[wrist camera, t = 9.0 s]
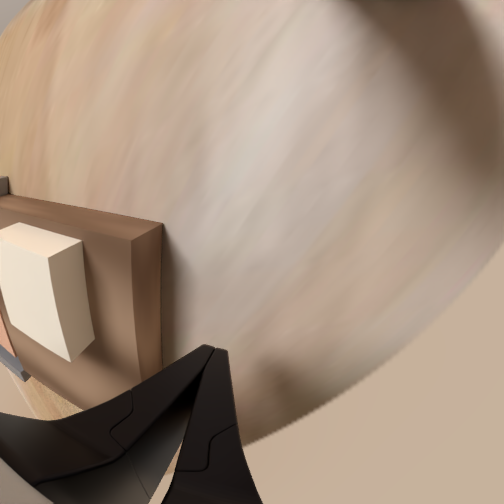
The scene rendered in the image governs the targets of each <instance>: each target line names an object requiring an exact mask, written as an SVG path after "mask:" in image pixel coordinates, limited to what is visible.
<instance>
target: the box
mask: <svg viewBox="0 0 504 504" xmlns="http://www.w3.org/2000/svg"><path fill="white" fill-rule="evenodd" d="M7 194H8V177H5V176H0V196H3V195H7ZM0 361H1V362H2V363H3V364H4V365H5V366H6V367H7V368H8V369H10V370H11V371H12V372H13V373H14V374H15V375H17V376H18V377H19V378H20V379H21V380H23V381H24V382H26V381H27V380H28V379H29V378H30V377H31V375H30V374H28V373H27V372H26V371H25V370H24V369H23V367H22V365H21V363H20V360H19V358H18V356H17V357H16V358H15V357H14V356H13V355H12V354H11V353H10V352H8V351H7V350H6V349H5V348H4V347H3V346H2V345H1V344H0Z"/></svg>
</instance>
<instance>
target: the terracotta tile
mask: <svg viewBox="0 0 504 504" xmlns="http://www.w3.org/2000/svg"><path fill="white" fill-rule="evenodd" d="M0 344H1V345H2V346H3V347H4V348H5V349H6V350H7V351H8V352H10V353H11V354H12V355H13V356H14V357H15V358H16V357H17V353H16V351H15V349H14V346H13V343H12V341H11V338H10V336H9V333H8V330H7V327H6V324H5V321H4V318H3V315H2V312H1V309H0Z"/></svg>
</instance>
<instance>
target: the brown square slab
mask: <svg viewBox="0 0 504 504" xmlns="http://www.w3.org/2000/svg"><path fill="white" fill-rule="evenodd" d="M19 222H20V223H24V224H27V225H30V226H34V227H37V228H40V229H44V230H47V231H51V232H54V233H57V234H61V235H64V236H68V237H71V238H75V239H78V240H82V246H83V259H84V270H85V280H86V288H87V295H88V302H89V309H90V315H91V321H92V326H93V331H94V336H95V340H93V341H92V342H91V343H90V344H89V345H88V346H87V347H86V348H85V349H84V350H83V351H82V352H81V354H80V355H79V356H78V357H77V358H76V359H75V360H74V361H73V362H72V363H71V362H69V361H67V360H66V359H64V358H62V357H60V356H59V355H57V354H55V353H54V352H52V351H50V350H49V349H47V348H46V347H44V346H43V345H41V344H39V343H38V342H36V341H35V340H33V339H32V338H30V337H29V336H28V335H26V334H25V333H23V332H22V331H20V330H19V329H18V328H16V327H15V326H13V325H12V324H11V322H10V319H9V316H8V313H7V309H6V306H5V302H4V299H3V295H2V291H1V287H0V309H1V312H2V315H3V318H4V321H5V324H6V327H7V330H8V333H9V336H10V338H11V341H12V343H13V346H14V349H15V351H16V353H17V356H18V358H19V360H20V363H21V365H22V367H23V369H24V370H25V371H26V372H27V373H28V374H30V375H31V376H32V377H34V378H35V379H37V380H38V381H39V382H41V383H42V384H43V385H45V386H46V387H48V388H49V389H51V390H52V391H54V392H55V393H57V394H58V395H60V396H61V397H63V398H64V399H66V400H68V401H69V402H71V403H72V404H74V405H76V406H77V407H79V408H81V409H83V410H87V409H90V408H92V407H95V406H97V405H99V404H102V403H104V402H106V401H108V400H110V399H112V398H114V397H116V396H118V395H120V394H122V393H124V392H125V391H127V390H129V389H130V390H131V388H132V387H134V386H136V385H138V384H139V383H141V382H143V381H144V380H146V379H148V378H149V377H151V376H153V375H154V374H156V373H158V372H159V371H161V370H163V365H162V346H161V302H160V293H161V249H162V228H163V223H159V222H154V221H149V220H144V219H139V218H134V217H128V216H123V215H118V214H113V213H108V212H102V211H97V210H92V209H87V208H81V207H76V206H71V205H65V204H60V203H55V202H49V201H44V200H38V199H33V198H27V197H22V196H16V195H11V194H7V195H3V196H0V230H1V229H3V228H6V227H8V226H11V225H13V224H16V223H19Z"/></svg>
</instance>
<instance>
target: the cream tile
mask: <svg viewBox="0 0 504 504" xmlns="http://www.w3.org/2000/svg"><path fill="white" fill-rule="evenodd" d="M0 287H1V291H2V295H3V299H4V302H5V306H6V309H7V313H8V316H9V319H10V322H11V324H12V325H13V326H15V327H16V328H18V329H19V330H20V331H22V332H23V333H25V334H26V335H28V336H29V337H30V338H32V339H33V340H35V341H36V342H38V343H39V344H41V345H43V346H44V347H46V348H47V349H49V350H50V351H52V352H54V353H55V354H57V355H59V356H60V357H62V358H64V359H66V360H67V361H69V362H71V363H72V362H73V361H74V360H75V359H76V358H77V357H78V356H79V355H80V354H81V352H82V351H83V350H84V349H85V348H86V347H87V346H88V345H89V344H90V343H91V342H92V341H93V340H95V336H94V331H93V326H92V321H91V315H90V309H89V302H88V295H87V288H86V280H85V270H84V259H83V246H82V240H78V239H75V238H71V237H68V236H64V235H61V234H57V233H54V232H51V231H47V230H44V229H40V228H37V227H34V226H30V225H27V224H24V223H20V222H19V223H16V224H13V225H11V226H8V227H6V228H3V229H1V230H0Z"/></svg>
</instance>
